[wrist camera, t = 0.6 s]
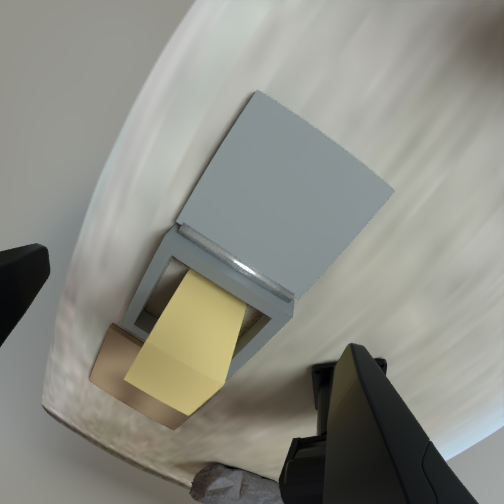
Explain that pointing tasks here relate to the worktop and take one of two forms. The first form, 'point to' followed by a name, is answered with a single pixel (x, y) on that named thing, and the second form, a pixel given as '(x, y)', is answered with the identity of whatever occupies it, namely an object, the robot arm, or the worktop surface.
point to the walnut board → (112, 381)
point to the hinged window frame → (266, 219)
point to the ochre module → (189, 345)
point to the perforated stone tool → (233, 487)
